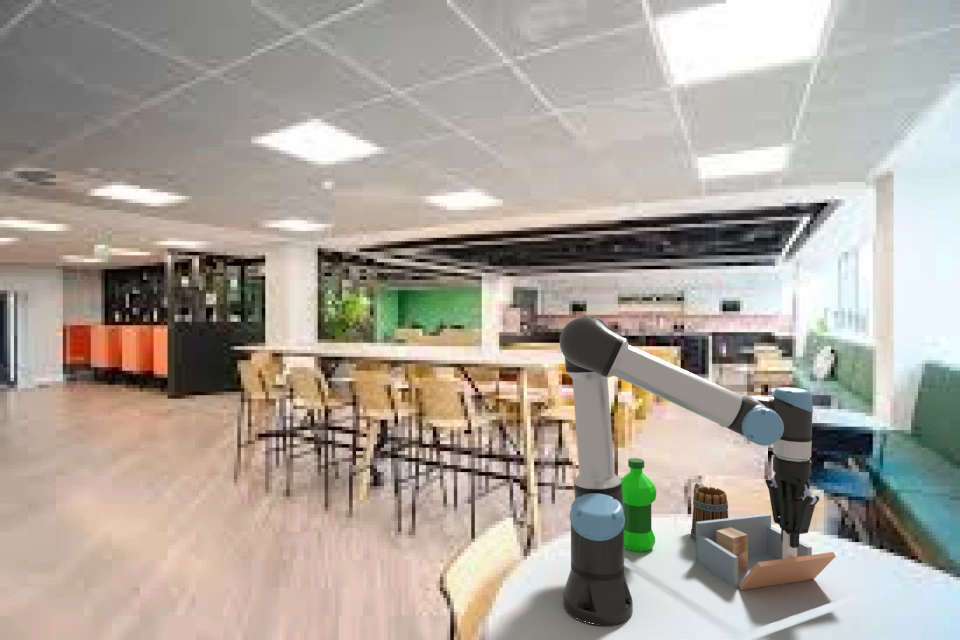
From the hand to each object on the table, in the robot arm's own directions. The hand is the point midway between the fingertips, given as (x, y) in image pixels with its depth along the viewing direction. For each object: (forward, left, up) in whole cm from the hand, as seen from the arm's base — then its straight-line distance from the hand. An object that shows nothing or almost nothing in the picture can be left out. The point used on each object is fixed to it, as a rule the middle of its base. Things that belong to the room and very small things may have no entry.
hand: (789, 559), depth 121 cm
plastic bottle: (-21, +31, -9) cm, 38 cm away
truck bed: (0, +12, -9) cm, 15 cm away
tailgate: (0, +4, -8) cm, 9 cm away
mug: (+2, +32, -9) cm, 33 cm away
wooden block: (-5, +13, -8) cm, 16 cm away
